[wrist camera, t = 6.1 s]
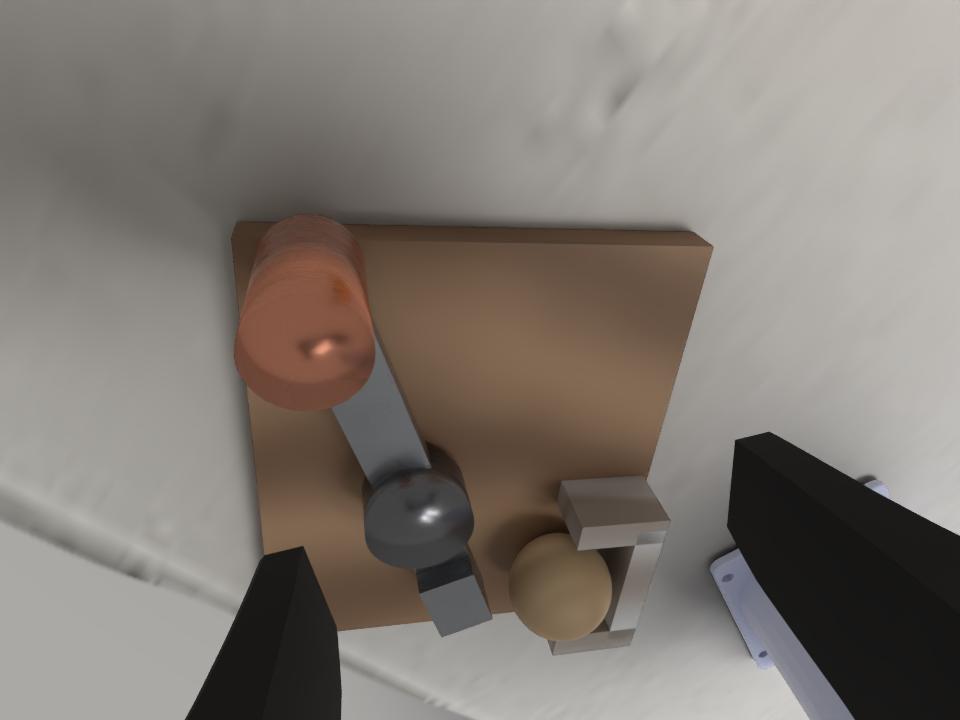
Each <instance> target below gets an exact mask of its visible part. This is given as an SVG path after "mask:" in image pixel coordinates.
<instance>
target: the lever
mask: <svg viewBox="0 0 960 720" xmlns="http://www.w3.org/2000/svg"><path fill="white" fill-rule="evenodd" d="M234 357H235V363H236V366H237V369H238V372H239V374H240V376H241V378H242V379H243V381H244V382H245V384H246V385H247V386H248V387H249V388H250V389H251V390H252V391H253V392H254V393H255V394H256V395H258V396H259V397H260V398H262V399H264V400H265V401H267V402H269V403H271V404H273V405H276V406H278V407H281V408H285V409H289V410H295V411H317V410H323V409H327V408H332V410H333V412H334V414H335V416H336V418H337V420H338V422H339V424H340V426H341V428H342V430H343V432H344V434H345V436H346V438H347V439H348V441H349V443H350V445H351V447H352V449H353V451H354V453H355V455H356V457H357V459H358V461H359V463H360V465H361V467H362V469H363V471H364V473H365V475H366V477H365V479H364V482H363V486H362V502H363V516H364V531H365V541H366V544H367V547H368V549H369V550H370V552H371V553H372V554H373V555H374V556H375V557H376V558H377V559H378V560H380V561H382V562H383V563H385V564H388V565H390V566H394V567H398V568H404V569H414V571H415V573H416V577H417V583H418V590H419V595H420V597H421V599H422V601H423V603H424V604H425V606H426V608H427V610H428V612H429V614H430V616H431V618H432V620H433V622H434V624H435V626H436V628H437V629H438V631H439V633H440V635H441V637H444V636H447V635H449V634H452V633H455V632H458V631H461V630H464V629H466V628H469V627H472V626H475V625H478V624H480V623H483V622H486V621H489V620H492V619H493V618H492V614H491V610H490V607H489V603H488V599H487V595H486V591H485V587H484V583H483V579H482V576H481V573H480V571H479V569H478V566H477V564H476V561H475V559H474V557H473V554H472V552H471V550H470V547H469V545H468V541H469V539H470V538H471V535H472V533H473V530H474V515H473V511H472V508H471V504H470V500H469V496H468V493H467V489H466V485H465V481H464V478H463V474H462V471H461V469H460V467H459V466H458V464H457V463H456V462H455V461H454V460H453V459H452V458H451V457H449V456H448V455H446V454H444V453H442V452H439V451H437V450H433V449H428V448H427V445H426V443H425V441H424V438H423V436H422V434H421V431H420V429H419V426H418V424H417V422H416V419H415V417H414V415H413V412H412V410H411V407H410V405H409V403H408V400H407V398H406V396H405V393H404V391H403V388H402V386H401V384H400V381H399V379H398V377H397V374H396V372H395V370H394V367H393V365H392V362H391V360H390V358H389V355H388V353H387V351H386V348H385V346H384V343H383V341H382V339H381V336H380V334H379V332H378V329H377V327H376V325H375V322H374V320H373V317H372V315H371V310H370V303H369V295H368V287H367V279H366V272H365V264H364V257H363V253H362V250H361V248H360V245H359V243H358V242H357V240H356V239H355V237H354V236H353V235H352V234H351V232H350V231H348V230H347V229H346V228H345V227H344V226H342V225H341V224H339V223H338V222H336V221H334V220H332V219H329V218H327V217H323V216H319V215H312V214H302V215H295V216H292V217H288V218H286V219H283V220H281V221H280V222H278V223H276V224H275V225H274V226H272V227H271V228H270V229H269V230H268V231H267V232H266V233H265V235H264V236H263V237H262V239H261V241H260V243H259V245H258V248H257V252H256V256H255V260H254V264H253V268H252V272H251V277H250V281H249V285H248V289H247V293H246V297H245V301H244V306H243V310H242V314H241V318H240V322H239V326H238V331H237V335H236V339H235V345H234Z"/></svg>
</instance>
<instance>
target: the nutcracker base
mask: <svg viewBox="0 0 960 720" xmlns="http://www.w3.org/2000/svg"><path fill="white" fill-rule="evenodd" d="M275 224H276V223H273V222H237V223H236V226H235V229H234V232H233V234H232V237H231V241H232V250H233V260H234V270H235V279H236V289H237V298H238V308H239V318H241V314H242V310H243V306H244V301H245V297H246V293H247V289H248V285H249V281H250V277H251V272H252V268H253V264H254V260H255V256H256V252H257V248H258V245H259V243H260V241H261V239H262V237H263V236H264V235H265V233H266V232H267V231H268V230H269V229H270V228H271V227H272V226H274V225H275ZM341 225H342V226H344V227H345V228H346V229H347V230H348V231H350V232H351V234H352V235H353V236H354V237H355V239H356V240H357V242H358V243H359V245H360V248H361V250H362V253H363V257H364V264H365V272H366V279H367V287H368V295H369V303H370V310H371V315H372V317H373V320H374V322H375V325H376V327H377V329H378V332H379V334H380V336H381V339H382V341H383V343H384V346H385V348H386V351H387V353H388V355H389V358H390V360H391V362H392V365H393V367H394V370H395V372H396V374H397V377H398V379H399V381H400V384H401V386H402V388H403V391H404V393H405V396H406V398H407V400H408V403H409V405H410V407H411V410H412V412H413V415H414V417H415V419H416V422H417V424H418V426H419V429H420V431H421V434H422V436H423V438H424V441H425V443H426V445H427V448H428V449H433V450H437V451H439V452H442V453H444V454H446V455H448V456H449V457H451V458H452V459H453V460H454V461H455V462H456V463H457V464H458V466H459V467H460V469H461V471H462V474H463V478H464V481H465V485H466V489H467V493H468V496H469V500H470V504H471V508H472V511H473V515H474V530H473V533H472V535H471V538H470V539H469V541H468V545H469V547H470V550H471V552H472V554H473V557H474V559H475V561H476V564H477V566H478V569H479V571H480V573H481V576H482V579H483V583H484V587H485V591H486V595H487V599H488V603H489V607H490V610H491V614H498V613H508V612H515V611H514V608H513V606H512V603H511V600H510V595H509V575H510V570H511V567H512V564H513V562H514V560H515V558H516V556H517V555H518V553H519V552H520V551H521V550H522V549H523V547H524V546H525V545H527V544H528V543H529V542H531V541H532V540H534V539H535V538H538V537H540V536H542V535H546V534H550V533H566V534H571V537H572V539H573V541H574V544H575V546H576V548H577V551H579V550H590V549H596V550H597V551H598V552H599V554H600V555H601V556H602V557H603V559H604V561H605V563H606V565H607V567H608V570H609V573H610V576H611V581H612V596H611V602H610V606H609V609H608V611H607V613H606V615H605V617H604V619H603V621H602V622H601V623H600V624H599V625H598V627H597V628H596V629H595V630H593V631H592V632H591V633H589V634H588V635H586V636H584V637H582V638H579V639H577V640H572V641H566V642H559V641H552V640H548V639H547V640H548V643H549V646H550V649H551V652H552V655H561V654H569V653H577V652H585V651H592V650H600V649H608V648H616V647H624V646H630V644H631V641H632V638H633V635H634V631H635V628H636V625H637V622H638V619H639V616H640V613H641V610H642V607H643V604H644V601H645V598H646V595H647V592H648V588H649V585H650V582H651V579H652V576H653V573H654V570H655V567H656V564H657V561H658V558H659V555H660V552H661V548H662V545H663V542H664V539H665V536H666V533H667V530H668V527H669V524H670V521H671V520H670V519H669V517H668V515H667V514H666V512H665V511H664V509H663V507H662V506H661V504H660V502H659V501H658V499H657V498H656V496H655V494H654V493H653V491H652V490H651V488H650V486H649V485H648V483H647V481H646V480H647V477H648V473H649V470H650V466H651V463H652V459H653V456H654V452H655V449H656V445H657V442H658V438H659V435H660V432H661V428H662V425H663V421H664V418H665V414H666V411H667V407H668V404H669V400H670V397H671V393H672V390H673V386H674V383H675V379H676V376H677V372H678V369H679V366H680V362H681V359H682V355H683V352H684V348H685V345H686V341H687V338H688V334H689V331H690V327H691V324H692V320H693V317H694V313H695V310H696V306H697V303H698V300H699V296H700V293H701V289H702V286H703V282H704V279H705V275H706V272H707V268H708V265H709V261H710V258H711V254H712V251H713V247H714V246H712V245H711V244H709V243H708V242H707V241H705V240H704V239H703V238H701V237H700V236H698V235H697V234H696V233H694V232H667V231H623V230H579V229H536V228H492V227H448V226H404V225H360V224H341ZM247 394H248V404H249V413H250V423H251V433H252V442H253V452H254V461H255V471H256V480H257V490H258V500H259V509H260V519H261V528H262V538H263V548H264V555H267V554H271V553H275V552H280V551H284V550H288V549H292V548H296V547H300V546H304V549H305V551H306V553H307V556H308V558H309V561H310V563H311V566H312V568H313V570H314V573H315V575H316V578H317V580H318V583H319V585H320V587H321V590H322V592H323V595H324V597H325V600H326V602H327V604H328V607H329V609H330V612H331V614H332V616H333V619H334V621H335V624H336V626H337V631H344V630H354V629H363V628H372V627H381V626H390V625H399V624H408V623H417V622H426V621H433V620H432V618H431V616H430V614H429V612H428V610H427V608H426V606H425V604H424V603H423V601H422V599H421V597H420V595H419V590H418V583H417V577H416V573H415V571H414V569H404V568H398V567H394V566H390V565H388V564H385V563H383V562H382V561H380V560H378V559H377V558H376V557H375V556H374V555H373V554H372V553H371V552H370V550H369V549H368V547H367V544H366V541H365V531H364V516H363V502H362V486H363V482H364V479H365V477H366V475H365V473H364V471H363V469H362V467H361V465H360V463H359V461H358V459H357V457H356V455H355V453H354V451H353V449H352V447H351V445H350V443H349V441H348V439H347V438H346V436H345V434H344V432H343V430H342V428H341V426H340V424H339V422H338V420H337V418H336V416H335V414H334V412H333V410H332V408H327V409H323V410H317V411H295V410H289V409H285V408H281V407H278V406H276V405H273V404H271V403H269V402H267V401H265V400H264V399H262V398H260V397H259V396H258V395H256V394H255V393H254V392H253V391H252V390H251V389H250V388H249V387H248V386H247Z"/></svg>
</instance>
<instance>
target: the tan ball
mask: <svg viewBox="0 0 960 720" xmlns="http://www.w3.org/2000/svg"><path fill="white" fill-rule="evenodd" d="M509 595H510V600H511V603H512V606H513V608H514V611H515V613H516V614H517V616H518V617H519V619H520V620H521V621H522V623H523V624H524V625H525V626H526V627H527V628H528V629H529V630H531V631H532V632H533V633H535V634H537V635H538V636H540V637H543V638H545V639H548V640H552V641H559V642H566V641H572V640H577V639H579V638H582V637H584V636H586V635H588V634H589V633H591V632H592V631H593V630H595V629H596V628H597V627H598V625H599V624H600V623H601V622H602V621H603V619H604V617H605V615H606V613H607V611H608V609H609V606H610V602H611V596H612V581H611V576H610V573H609V570H608V567H607V565H606V563H605V561H604V559H603V557H602V556H601V555H600V554H599V552H598V551H597V550H596V549H590V550H579V551H577V548H576V546H575V544H574V541H573V539H572V537H571V534H566V533H550V534H546V535H542V536H540V537H538V538H535V539H534V540H532V541H531V542H529V543H528V544H527V545H525V546H524V547H523V549H522V550H521V551H520V552H519V553H518V555H517V556H516V558H515V560H514V562H513V564H512V567H511V570H510V575H509Z"/></svg>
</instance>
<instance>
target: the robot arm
mask: <svg viewBox="0 0 960 720" xmlns="http://www.w3.org/2000/svg"><path fill="white" fill-rule="evenodd" d="M727 527H728V529H729V531H730V533H731V535H732V537H733V539H734V541H735V543H736V545H737V546H738V549H736V550H734V551H732V552H730V553H728V554H726V555H724V556H722V557H720V558H718V559H717V560H715V561H714V562H713V563H712V564H711V567H710V571H711V573H712V575H713V577H714V579H715V581H716V583H717V585H718V587H719V590H720V592H721V594H722V596H723V598H724V600H725V602H726V604H727V606H728V608H729V610H730V612H731V614H732V616H733V618H734V620H735V622H736V624H737V626H738V628H739V630H740V632H741V634H742V636H743V638H744V640H745V642H746V644H747V646H748V648H749V650H750V653H751V655H752V657H753V659H754V661H755V662H756V664H757V666H758V667H759V668H760V669H768V668H770V667H772V666H774V665H775V666H776V667H777V669H778V670H779V672H780V673H781V675H782V676H783V678H784V680H785V681H786V683H787V684H788V686H789V687H790V689H791V690H792V692H793V694H794V695H795V697H796V698H797V700H798V701H799V703H800V705H801V706H802V708H803V709H804V711H805V712H806V714H807V715H808V717H809V719H810V720H960V536H959V535H957V534H955V533H953V532H951V531H949V530H947V529H945V528H943V527H941V526H939V525H937V524H935V523H933V522H931V521H929V520H927V519H926V518H924V517H922V516H920V515H918V514H916V513H914V512H912V511H910V510H908V509H907V508H905V507H903V506H901V505H899V504H897V503H895V502H894V501H892V500H890V498H889V492H888V488H887V486H886V485H885V484H884V483H883V482H882V481H880V480H873V481H870V482H868V483H866V484H864V485H863V484H861V483H859V482H858V481H856V480H854V479H852V478H851V477H849V476H847V475H845V474H844V473H842V472H840V471H838V470H837V469H835V468H833V467H831V466H830V465H828V464H826V463H824V462H823V461H821V460H819V459H817V458H816V457H814V456H812V455H810V454H809V453H807V452H805V451H803V450H802V449H800V448H798V447H796V446H795V445H793V444H791V443H789V442H788V441H786V440H784V439H782V438H780V437H778V436H777V435H775V434H773V433H771V432H766V433H762V434H758V435H754V436H750V437H746V438H742V439H737V440H735V447H734V458H733V469H732V479H731V490H730V501H729V511H728V522H727ZM341 695H342V690H341V675H340V660H339V648H338V635H337V626H336V624H335V621H334V619H333V616H332V614H331V612H330V609H329V607H328V604H327V602H326V600H325V597H324V595H323V592H322V590H321V587H320V585H319V583H318V580H317V578H316V575H315V573H314V570H313V568H312V566H311V563H310V561H309V558H308V556H307V553H306V551H305V549H304V546H300V547H296V548H292V549H288V550H284V551H280V552H275V553H271V554H267V555H264V556H263V558H262V559H261V560H260V562H259V564H258V566H257V569H256V571H255V574H254V576H253V578H252V581H251V583H250V585H249V588H248V590H247V592H246V595H245V597H244V599H243V602H242V604H241V606H240V608H239V611H238V613H237V615H236V617H235V620H234V622H233V624H232V626H231V628H230V631H229V633H228V635H227V637H226V639H225V641H224V643H223V645H222V647H221V649H220V652H219V654H218V656H217V658H216V660H215V662H214V664H213V666H212V668H211V670H210V672H209V674H208V676H207V678H206V680H205V682H204V684H203V686H202V688H201V690H200V692H199V694H198V696H197V698H196V700H195V702H194V704H193V706H192V708H191V709H190V711H189V713H188V715H187V717H186V719H185V720H341V697H342V696H341Z"/></svg>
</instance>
